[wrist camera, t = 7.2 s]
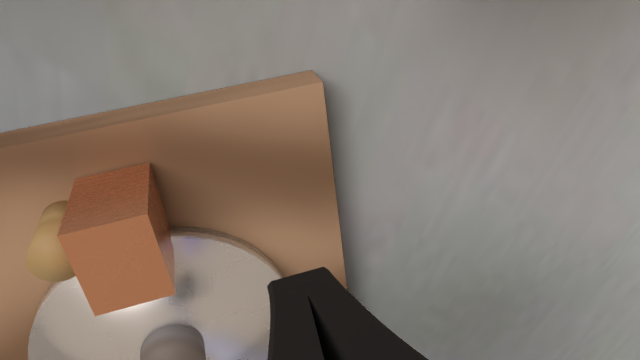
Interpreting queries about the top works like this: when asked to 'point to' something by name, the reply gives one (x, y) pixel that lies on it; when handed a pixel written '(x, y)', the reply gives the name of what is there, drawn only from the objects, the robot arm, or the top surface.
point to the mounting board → (175, 188)
